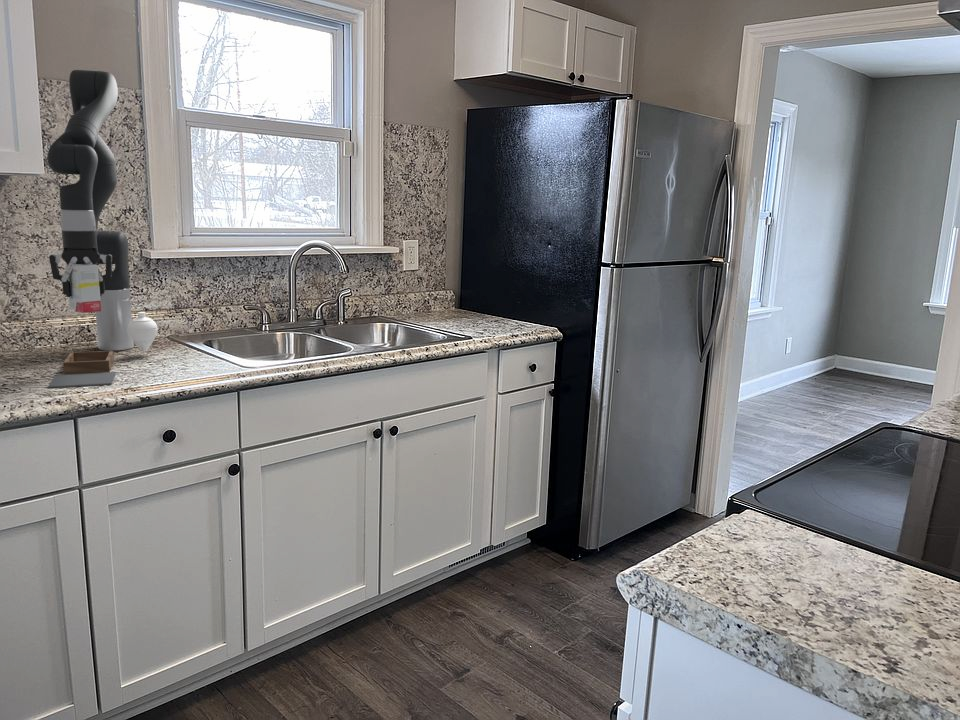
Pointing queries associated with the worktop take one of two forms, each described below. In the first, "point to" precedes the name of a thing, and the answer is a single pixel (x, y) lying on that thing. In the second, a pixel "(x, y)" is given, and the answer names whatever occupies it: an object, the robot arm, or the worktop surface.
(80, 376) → the rubber mat
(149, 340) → the spinning top
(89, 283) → the ink box
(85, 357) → the holder box
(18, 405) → the worktop surface
